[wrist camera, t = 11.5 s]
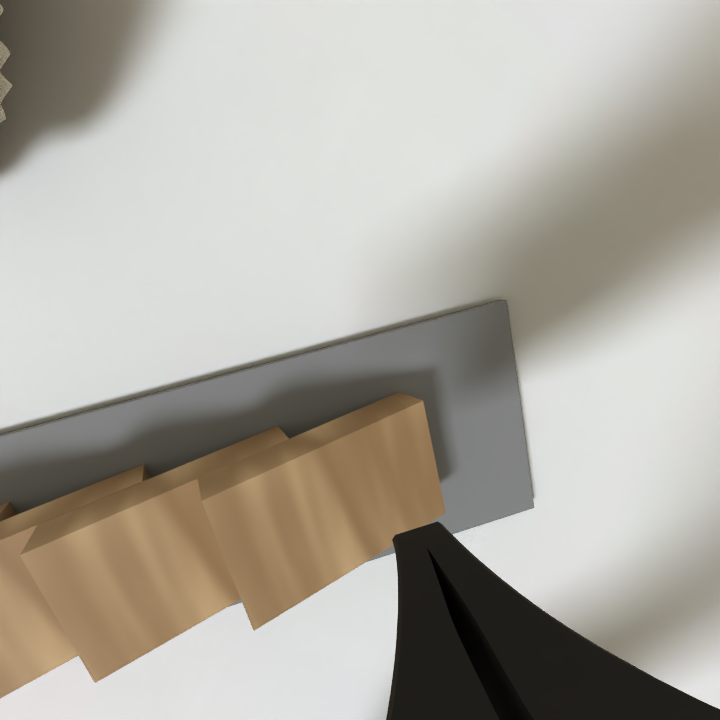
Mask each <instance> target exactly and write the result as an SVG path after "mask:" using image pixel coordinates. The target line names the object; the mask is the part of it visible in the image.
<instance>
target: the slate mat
mask: <svg viewBox="0 0 720 720" xmlns="http://www.w3.org/2000/svg"><path fill="white" fill-rule="evenodd" d="M398 392H402V393H405V394H407V395H410V396H412V397H415V398H417V399H420V400H422V401H423V403H424V408H425V412H426V417H427V422H428V427H429V432H430V437H431V442H432V447H433V452H434V457H435V462H436V467H437V472H438V477H439V481H440V486H441V491H442V496H443V501H444V506H445V511H446V513H445V514H443V515H442V516H440V517H438V518H437V519H435V520H433V521H432V522H430V523H429V524H431V523H434V522H437V521H438V522H440V523H441V524H443V526H444V527H445V528H446V529H447V530H448V531H449V532H450V533H451V534H454V533H458V532H461V531H464V530H467V529H470V528H473V527H476V526H479V525H482V524H485V523H488V522H492V521H495V520H498V519H501V518H504V517H507V516H510V515H513V514H516V513H519V512H522V511H526V510H529V509H532V508H534V502H533V495H532V487H531V479H530V472H529V464H528V457H527V449H526V442H525V434H524V427H523V419H522V411H521V404H520V396H519V389H518V381H517V374H516V366H515V358H514V351H513V343H512V336H511V328H510V321H509V313H508V306H507V301H506V300H499V301H496V302H492V303H488V304H484V305H481V306H477V307H473V308H470V309H466V310H462V311H458V312H455V313H451V314H447V315H443V316H440V317H436V318H432V319H429V320H425V321H421V322H417V323H414V324H410V325H406V326H403V327H399V328H395V329H391V330H388V331H384V332H380V333H376V334H373V335H369V336H365V337H362V338H358V339H354V340H350V341H347V342H343V343H339V344H336V345H332V346H328V347H324V348H321V349H317V350H313V351H310V352H306V353H302V354H298V355H295V356H291V357H287V358H283V359H280V360H276V361H272V362H269V363H265V364H261V365H257V366H254V367H250V368H246V369H243V370H239V371H235V372H231V373H228V374H224V375H220V376H217V377H213V378H209V379H205V380H202V381H198V382H194V383H190V384H187V385H183V386H179V387H176V388H172V389H168V390H164V391H161V392H157V393H153V394H150V395H146V396H142V397H138V398H135V399H131V400H127V401H123V402H120V403H116V404H112V405H109V406H105V407H101V408H97V409H94V410H90V411H86V412H83V413H79V414H75V415H71V416H68V417H64V418H60V419H57V420H53V421H49V422H45V423H42V424H38V425H34V426H30V427H27V428H23V429H19V430H16V431H12V432H8V433H4V434H1V435H0V505H3V504H5V503H8V502H10V504H11V505H12V507H13V509H14V511H15V513H16V514H17V515H18V514H20V513H23V512H25V511H28V510H30V509H33V508H35V507H38V506H40V505H43V504H45V503H48V502H50V501H53V500H55V499H58V498H60V497H63V496H65V495H68V494H70V493H73V492H75V491H78V490H80V489H83V488H85V487H88V486H90V485H93V484H95V483H98V482H100V481H103V480H105V479H108V478H110V477H113V476H115V475H118V474H120V473H123V472H125V471H128V470H130V469H133V468H135V467H138V466H140V465H143V464H144V465H145V467H146V469H147V472H148V474H149V476H150V478H153V477H155V476H158V475H160V474H162V473H165V472H167V471H170V470H172V469H175V468H177V467H179V466H182V465H184V464H187V463H189V462H192V461H194V460H196V459H199V458H201V457H204V456H206V455H209V454H211V453H213V452H216V451H218V450H221V449H223V448H226V447H228V446H230V445H233V444H235V443H238V442H240V441H243V440H245V439H247V438H250V437H252V436H255V435H257V434H260V433H262V432H264V431H267V430H269V429H272V428H274V427H277V426H279V428H280V429H281V430H282V431H283V432H284V433H285V435H286V436H287V437H288V438H289V439H290V438H292V437H295V436H297V435H299V434H302V433H304V432H306V431H309V430H311V429H313V428H316V427H318V426H320V425H323V424H325V423H327V422H330V421H332V420H334V419H337V418H339V417H341V416H344V415H346V414H348V413H351V412H353V411H356V410H358V409H360V408H363V407H365V406H367V405H370V404H372V403H374V402H377V401H379V400H381V399H384V398H386V397H388V396H391V395H393V394H395V393H398ZM427 525H428V524H427ZM393 553H395V549H394V545H393V546H391V547H389V548H388V549H386V550H385V551H383V552H381V553H380V554H378V555H376V556H375V557H373V558H372V559H370V560H368V561H371V560H374V559H377V558H380V557H383V556H386V555H390V554H393ZM368 561H367V562H368ZM241 602H242V600H241V599H240V600H239V601H237V602H235V603H233V604H232V605H235V604H238V603H241ZM232 605H230V606H232ZM228 607H229V606H228Z"/></svg>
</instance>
